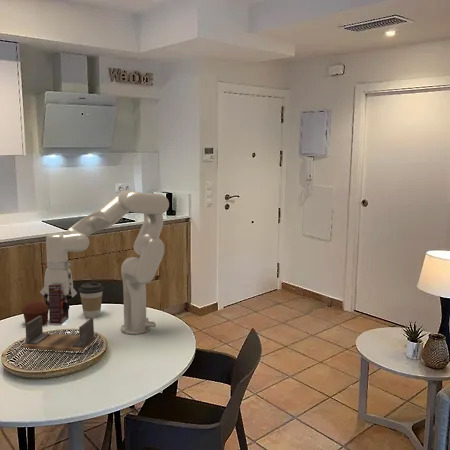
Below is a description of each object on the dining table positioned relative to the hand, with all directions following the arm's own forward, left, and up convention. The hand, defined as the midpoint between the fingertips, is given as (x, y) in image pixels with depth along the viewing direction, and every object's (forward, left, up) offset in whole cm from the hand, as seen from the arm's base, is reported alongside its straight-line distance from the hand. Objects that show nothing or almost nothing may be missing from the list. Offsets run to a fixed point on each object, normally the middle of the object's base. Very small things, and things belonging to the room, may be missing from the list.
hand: (59, 310), depth 185 cm
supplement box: (0, 0, -5) cm, 5 cm away
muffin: (+23, -22, -15) cm, 35 cm away
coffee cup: (+3, -36, -15) cm, 39 cm away
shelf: (0, 0, -14) cm, 14 cm away
